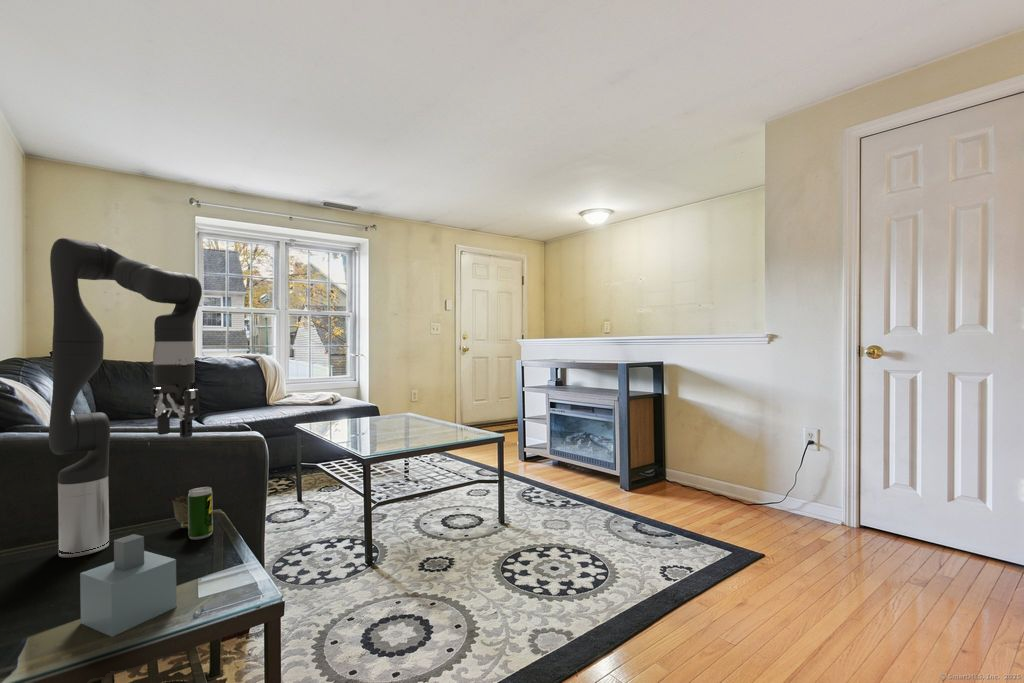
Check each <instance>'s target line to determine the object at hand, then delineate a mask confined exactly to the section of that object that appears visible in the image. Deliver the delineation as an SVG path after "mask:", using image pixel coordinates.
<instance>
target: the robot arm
mask: <svg viewBox="0 0 1024 683" xmlns="http://www.w3.org/2000/svg"><path fill="white" fill-rule="evenodd" d="M49 264H50V278H51V286H52V287H51V288H52V298H53V328H52V348H51V350H52V351H51V354H52V355H51V356H52V357H51V358H52V395H51V396H52V397H51V405H50V406H51V407H50V414H49V415H50V416H49V425H48V444H49V449H50V451H51V452H52V453H53V454H54V455H57V456H58V455H59V456H60V455H68V454H77V453H81V452H88V453H87V454H86V456H84V457H83V458H81V459H79V461H77V462H75V463H73V464H71V465H68V466H67V467H64V468H62V469H61V470H60V471H58V473H57V495H58V497H57V498H58V501H57V502H58V504H57V505H58V507H57V508H58V551H59V550H60V551H63V552H69V553H70V552H71V553H74V554H61V553H59V552H58V557H59V558H75V557H81V556H87V555H90V554H94V553H97V552H100V551H102V550H105V549H106V548H108V547H109V546H110V509H109V508H110V506H109V505H110V504H109V501H110V498H109V492H110V491H109V467H110V466H109V465H110V463H109V462H110V442H111V441H110V440H111V423H110V422H111V421H110V420H109V417H108V415H107V414H106V413H104V412H88V413H87V412H86V413H77V414H72V410H73V407H74V404H75V401H76V398H78V395H79V394H80V392H81V390H82V389H83V387H85V385H86V384H87V383H88V381H89V380H90V379H91V378H92V377H93V375H94V374H95V373H96V372H97V371H98V369H100V366H101V365H102V362H103V361H104V340H105V339H104V333H103V330H102V328H101V326H100V324H98V323H99V322H97V321H96V319H95V317H93V315H92V314H91V312H90V311H89V309H88V308H87V307H86V306H85V304H84V302H83V299H82V297H81V294H80V288H79V280H88V281H103V280H105V281H115V283H117V284H118V285H119V286H121V287H122V288H124V289H125V290H128V291H131V292H134V293H137V294H139V295H142V297H144V298H145V299H147V300H149V301H150V302H155V303H160V304H170V305H171V304H172V305H175V306H174V308H173V310H172V312H171V313H168V314H162V315H161V314H160V315H158V316H156V317H155V320H154V325H153V326H154V330H153V331H154V343H153V344H154V345H153V350H152V365H153V366H152V376H153V378H152V382H153V384H154V385H157V386H159V387H152V388H151V390H150V414H151V415H154V416H155V418H157V420H156V422H157V423H156V424H157V425H156V426H157V427H156V428H157V429H156V430H157V431H156V432H157V435H160V436H162V435H163V436H164V435H169V433H170V432H171V430H170V428H171V427H170V426H171V418H170V416H171V413H172V411H173V412H175V413H177V415H178V417H179V437H180V438H182V439H185V438H191V437H192V436H193V420H194V419H195V418H197V417H200V416H201V415H200V414H201V413H200V393H199V392H200V391H199V389H198V388H195V389H194V388H193V389H190V387H189V385H190V384H192V383H195V381H196V380H195V379H196V378H195V375H196V373H195V365H196V364H195V347H194V322H195V318H196V316H197V313H198V312H197V311H198V309H199V306H200V302H201V300H202V296H203V291H202V290H203V288H202V285H201V282H200V281H199V279H198V278H197V277H196V276H194V275H193V274H190V273H185V272H184V273H183V272H175V271H169V270H163V269H162V268H160V267H158V266H156V265H153V264H150V263H147V262H143V261H140V260H135V259H132V258H129V257H127V256H125V255H122V254H121V253H119V252H118V251H116V250H114V249H113V248H111V247H109V246H107V245H104V244H102V243H99V242H92V241H86V240H79V239H73V238H64V237H62V238H61V237H60V238H58V239H57V240H55V241H54V243H53V245H52V247H51V249H50V257H49ZM108 541H109V542H108ZM107 542H108V543H107ZM106 543H107V544H106ZM104 544H105V545H104ZM102 545H104V546H102ZM100 546H101V547H100ZM97 547H99V548H97ZM93 548H96V549H93ZM89 549H93V550H89ZM85 550H89V551H85ZM81 551H85V552H81ZM75 552H80V553H75Z"/></svg>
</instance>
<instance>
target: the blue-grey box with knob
mask: <svg viewBox="0 0 1024 683" xmlns="http://www.w3.org/2000/svg"><path fill="white" fill-rule="evenodd" d="M79 577H80V578H79V582H80V585H79V586H80V587H79V590H80V592H79V593H80V594H79V596H80V597H79V598H80V624H81V625H83V626H85V627H89V628H91V629H93V630H95V631H98V632H99V633H102V634H104V635H106V636H109V637H111V638H113V637H115V636H117V635H119V634H121V633H123V632H126V631H128V630H130V629H133V628H135V627H137V626H139V625H140V624H143V623H145V622H147V621H150V620H152V619H155V618H156V617H158V616H160V615H162V614H165V613H167V612H169V611H172V610H174V609H175V608H177V605H178V604H177V600H178V599H177V597H178V596H177V559H175V558H172V557H169V556H165V555H161V554H158V553H154V552H150V551H147V550H145V536H144V535H139V534H135V533H134V534H130V535H126V536H123V537H120V538H118V539H117V538H116V539H114V540H113V561H111V562H109V563H105V564H102V565H100V566H96V567H94V568H91V569H88V570H86V571H82V572H80V573H79Z"/></svg>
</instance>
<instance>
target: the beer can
mask: <svg viewBox="0 0 1024 683" xmlns="http://www.w3.org/2000/svg"><path fill="white" fill-rule="evenodd" d="M187 496H188V528H187V530H188V531H187V532H188V533H187V534H188V535H187V536H188V537H189V539H190V540H202V539H206V538H208V537H210V536H211V535H213V532H214V516H213V515H214V514H213V513H214V512H213V511H214V509H213V508H214V507H213V504H214V502H213V498H214V497H213V490H212V487H210V486H203V487H196V488H195V487H194V488H192V489H190V490H188V494H187Z"/></svg>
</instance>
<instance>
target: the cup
mask: <svg viewBox="0 0 1024 683" xmlns="http://www.w3.org/2000/svg"><path fill="white" fill-rule="evenodd" d="M171 501H172V508H173V513H174V518H175V520H176V521H177V522H179V523H181V524H180V526H181V528H182V529H188V495H187V496H182V495H181V496H180V497H176V498H175V501H174V500H171Z"/></svg>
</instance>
